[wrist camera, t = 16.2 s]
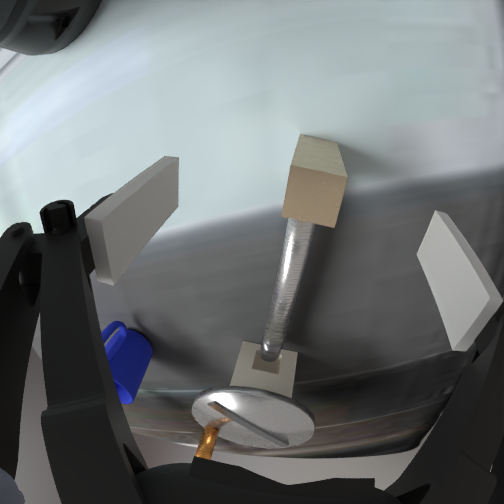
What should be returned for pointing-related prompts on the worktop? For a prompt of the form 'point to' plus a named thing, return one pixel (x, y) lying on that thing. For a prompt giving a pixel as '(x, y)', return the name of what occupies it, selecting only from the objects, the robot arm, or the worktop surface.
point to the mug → (126, 359)
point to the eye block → (265, 370)
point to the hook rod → (302, 227)
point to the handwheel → (250, 418)
